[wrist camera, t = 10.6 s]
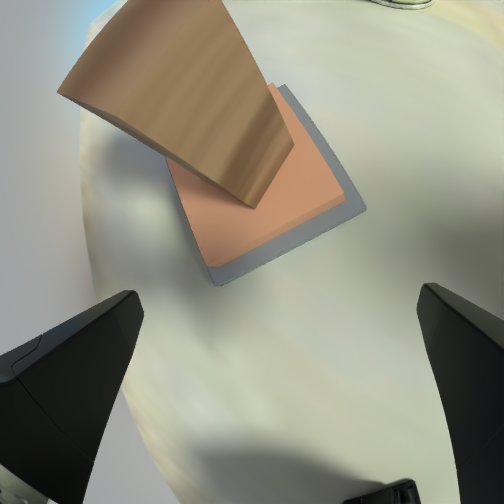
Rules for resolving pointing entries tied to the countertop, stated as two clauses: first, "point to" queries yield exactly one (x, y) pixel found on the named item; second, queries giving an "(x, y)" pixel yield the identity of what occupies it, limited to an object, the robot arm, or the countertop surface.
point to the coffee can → (406, 3)
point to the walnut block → (185, 92)
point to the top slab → (270, 206)
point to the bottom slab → (307, 229)
